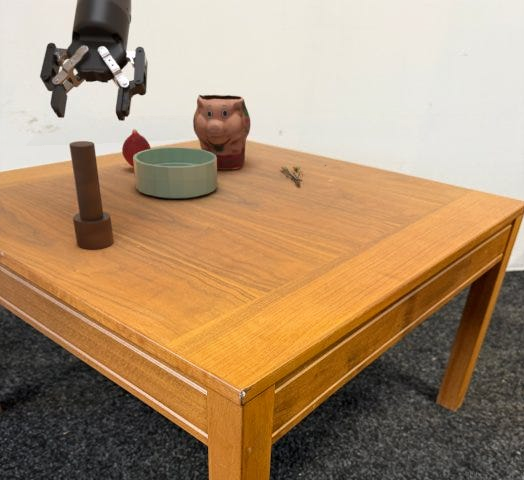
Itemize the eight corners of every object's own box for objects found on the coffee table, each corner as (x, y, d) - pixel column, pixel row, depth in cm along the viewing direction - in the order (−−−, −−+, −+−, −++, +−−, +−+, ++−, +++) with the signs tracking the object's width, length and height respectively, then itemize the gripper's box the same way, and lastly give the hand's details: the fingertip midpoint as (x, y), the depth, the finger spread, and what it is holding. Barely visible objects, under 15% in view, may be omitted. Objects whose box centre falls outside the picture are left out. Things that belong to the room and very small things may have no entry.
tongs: (293, 188, 108) (294, 177, 107) (279, 173, 119) (279, 163, 118) (314, 187, 109) (314, 177, 108) (298, 173, 120) (298, 163, 119)
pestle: (74, 250, 78) (58, 148, 71) (79, 236, 83) (64, 139, 75) (111, 249, 79) (99, 148, 71) (115, 236, 83) (103, 139, 76)
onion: (158, 169, 116) (155, 129, 111) (136, 174, 112) (132, 133, 108) (140, 164, 119) (137, 125, 115) (118, 169, 115) (114, 128, 111)
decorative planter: (197, 152, 130) (195, 87, 122) (248, 153, 131) (249, 89, 123) (192, 175, 113) (189, 101, 106) (251, 176, 114) (252, 103, 106)
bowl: (133, 201, 97) (130, 167, 94) (138, 177, 110) (136, 146, 107) (219, 200, 99) (219, 167, 96) (214, 177, 112) (214, 147, 109)
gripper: (44, -8, 76) (26, 95, 72) (146, -4, 75) (134, 100, 72) (63, 34, 83) (48, 130, 79) (157, 38, 83) (146, 134, 79)
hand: (89, 115), depth 76 cm, fingers open, 8 cm apart
